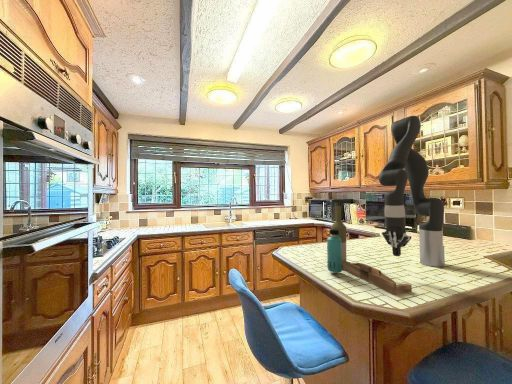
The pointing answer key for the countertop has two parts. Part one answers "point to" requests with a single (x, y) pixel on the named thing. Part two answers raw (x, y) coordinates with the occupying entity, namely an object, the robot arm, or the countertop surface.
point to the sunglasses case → (376, 272)
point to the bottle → (340, 231)
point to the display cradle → (376, 278)
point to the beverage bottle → (334, 252)
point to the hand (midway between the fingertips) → (396, 255)
